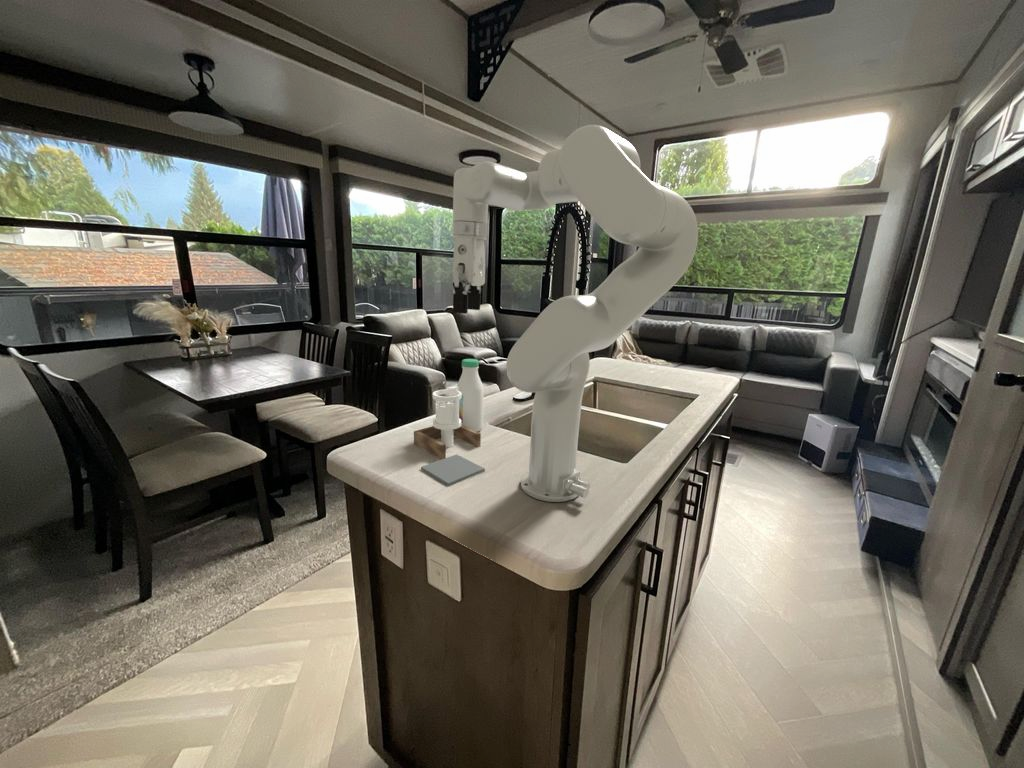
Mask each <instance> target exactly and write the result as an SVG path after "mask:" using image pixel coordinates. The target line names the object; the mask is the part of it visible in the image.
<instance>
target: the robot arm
mask: <svg viewBox="0 0 1024 768" xmlns="http://www.w3.org/2000/svg"><path fill="white" fill-rule="evenodd" d="M562 144H563V145H561V148H558V149H552V150H549V151H548V152H546V153H545V154H544V155H543V156H542V158H541V160H540V162H539V165H538V170H532V171H520V170H517V169H515V168H512V167H509V166H507V165H503V164H499V163H497V162H493V161H488V160H486V161H481V162H478V163H476V164H474V165H473V166H471V167H462V168H458V169H457V170H455V172H454V176H453V192H452V193H453V195H452V199H453V200H452V201H453V202H452V239H454V246H453V256H452V257H453V260H452V281H453V282H452V286H453V290H452V295H453V297H452V312H453V313H454V314H468V310H470V311H471V310H472V311H480V309H481V300H482V299H481V297H482V294H481V293H482V288H481V287H482V286H483V285H485V283H486V247H485V245H486V244H485V241H487V240H488V239H487V238H488V222H489V220H488V217H489V205H490V206H493V207H500V208H504V209H508V210H512V211H517V212H518V211H521V212H522V211H535V210H537V211H538V210H545V209H548V208H550V207H553V206H555V205H556V204H566V203H574V202H575V203H578V202H580V203H581V205H582V206H583V207H584V209H585V210H586V212H588V214H589V215H590V216H591V218H593V220H594V221H595V223H596V224H597V225H598V226H599V227H600V228H601V230H603V231H604V233H605V234H607V235H608V236H609V237H610V238H611V239H613V240H614V241H616V242H618V243H621V244H625V245H628V246H633V247H638V249H637V250H636V251H635V252H634V253H633V254H632V255H631V256H630V257H628V258H627V259H625V261H623V262H621V263H620V264H619V265H618V266H616V268H614V269H613V270H612V271H611V273H610V274H609V275H608V276H607V278H605V280H604V281H603V282H601V284H599V285H598V287H597V288H595V289H593V291H592V292H590V293H587V294H580V295H579V294H577V295H566V296H562V297H560V298H558V299H555V300H554V301H553V302H551V303H550V304H548V306H546V307H545V308H544V309H543V310H542V311H541V312H540V314H539V315H538V316H537V317H535V319H534V321H533V322H532V323H530V326H528V327H527V329H526V330H525V331H524V332H523V333H522V335H521V336H520V337H519V338H518V340H517V341H516V342H515V343H514V345H512V347H511V349H510V351H509V353H508V356H507V359H506V365H505V367H506V375H507V377H508V380H509V382H510V383H511V385H512V386H513V387H514V388H516V389H518V390H519V391H521V392H525V393H530V394H531V393H532V394H533V393H534V398H533V402H532V413H531V425H530V426H531V427H530V445H529V446H530V448H529V464H528V472H527V471H526V473H524V474H523V475H522V477H521V479H520V486H521V489H522V491H523V492H524V493H526V495H528V496H529V497H531V498H533V499H536V500H540V501H543V502H548V503H552V502H553V503H561V502H567V501H571V500H573V499H576V498H577V497H581V498H583V499H586V498H587V497H588V495H589V492H590V491H589V489H590V487H591V483H590V482H587V481H586V480H585V481H584V480H581V478H580V476H581V470H578V469H576V467H577V456H578V444H579V432H580V422H581V414H582V411H581V410H582V403H583V396H584V390H585V386H586V384H587V378H588V375H589V370H590V355H589V353H592V352H598V351H601V350H604V349H606V348H608V347H610V346H611V345H613V344H614V343H615V342H616V341H617V340H618V339H619V338H620V337H621V336H622V335H623V334H624V333H625V332H626V331H627V330H628V329H629V328H630V327H631V326H632V325H634V323H636V322H637V321H638V320H639V319H640V318H641V317H643V315H644V314H646V312H647V311H648V310H649V309H651V308H652V306H653V305H655V303H657V302H658V301H659V300H660V299H661V298H662V297H663V296H664V295H665V294H666V293H668V292H669V291H670V290H671V289H672V288H673V286H675V285H676V284H677V283H678V281H679V280H680V279H681V278H682V277H683V276H684V274H686V272H687V270H688V268H689V267H690V265H691V263H692V261H693V259H694V257H695V254H696V252H697V248H698V247H697V246H698V244H699V243H698V241H699V228H698V227H699V226H698V221H697V220H698V219H697V217H696V214H695V212H694V210H693V207H692V206H691V205H690V204H689V202H688V201H687V200H686V199H685V198H684V197H682V196H681V195H680V194H678V193H676V192H675V191H673V190H671V189H669V188H667V187H664V186H663V185H660V184H657V183H656V182H655V181H652V180H650V179H649V178H648V177H647V176H646V175H645V174H644V173H643V172H642V170H641V159H640V155H639V153H638V152H637V150H636V148H635V147H634V146H633V144H632V143H630V142H629V141H628V140H627V139H625V138H622V137H621V136H619V134H616V133H615V132H613V131H611V130H609V129H608V128H606V127H604V126H603V125H598V124H587V125H584V126H581V127H579V128H576V130H573V132H571V133H570V134H569V136H567V138H566V139H565V141H564V142H563V143H562Z"/></svg>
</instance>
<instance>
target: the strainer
mask: <svg viewBox="0 0 1024 768" xmlns="http://www.w3.org/2000/svg"><path fill="white" fill-rule="evenodd" d="M441 395H452V396H441ZM461 398H462V393H461V392H460V391H458V387H457V385H455V386H448V387H447V388H446V389H438V390H434V392H432V399H433V400H434V401H435V418H434V419H433V420H432V426H434V427H435V428H437V429H441V438H440V440H441V441H440V442H442V443H444V444H446V448H447V449H448V448H452V447H453V446H454V436H453V429H457V428H459V427H460V426H461V419H460V418H459V400H460V399H461Z"/></svg>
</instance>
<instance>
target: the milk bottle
mask: <svg viewBox="0 0 1024 768" xmlns="http://www.w3.org/2000/svg"><path fill="white" fill-rule="evenodd" d="M479 364H480V363H479V360H478V359H476V358H465V359H462V360H461V368H462V373H461V375H460V377H459V380H458V383H457V385H456V386H457V387H458V391H460V392H461V393H462V398H461V399H460V400H459V418H460V419H461V425H462V426H464V427H467V428H469V429H472V430H474V431H476V432H481V431H482V429H483V428H484V398H485V397H484V385H483V382H482V380H481V377H480V375H479V368H480V367H479Z"/></svg>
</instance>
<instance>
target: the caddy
mask: <svg viewBox="0 0 1024 768" xmlns="http://www.w3.org/2000/svg"><path fill="white" fill-rule="evenodd" d="M481 436H482V435H481V432H480V431H478V432H476V431H474V430H472V429H469V428H467V427H464V426H462V425H461V426H460V427H459V428H457V429H453V438H454V437H455V438H457V439H459V440H461V441H463V442H465V443H468V444H469V445H472V446H474V447H476V448H479V447H481V441H482V440H481V438H482V437H481ZM438 439H441V429H437V428H435V427H434V426H433V425H431V426H428V427H424V428H422V429H417V430H413V445H415V446H417V447H419V448H420V449H421V450H424V451H426V452H427V453H429V454H431V455H434V456H435V457H437V458H439V459H440V460H442V459H445V458H447V456H446V453H447V451H446V450H447V449H446V444H444V443H442V442H441V441H439V440H438Z"/></svg>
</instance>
